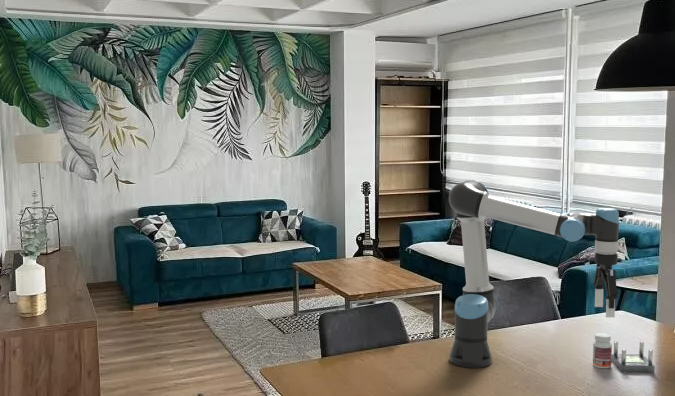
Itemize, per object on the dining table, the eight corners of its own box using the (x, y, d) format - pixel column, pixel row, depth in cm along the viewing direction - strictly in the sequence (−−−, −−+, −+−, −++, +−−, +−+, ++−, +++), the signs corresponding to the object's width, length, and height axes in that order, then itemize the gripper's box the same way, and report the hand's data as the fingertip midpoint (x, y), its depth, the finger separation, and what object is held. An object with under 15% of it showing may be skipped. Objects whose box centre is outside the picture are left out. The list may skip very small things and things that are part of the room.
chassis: (621, 372, 248) (622, 351, 247) (611, 360, 260) (611, 340, 259) (654, 372, 247) (655, 351, 246) (642, 361, 259) (643, 341, 258)
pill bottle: (614, 368, 252) (615, 337, 250) (597, 369, 251) (599, 338, 249) (605, 362, 258) (606, 332, 256) (589, 363, 257) (590, 332, 256)
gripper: (629, 259, 237) (626, 321, 239) (606, 246, 262) (604, 302, 264) (605, 259, 238) (603, 321, 240) (585, 246, 262) (584, 302, 265)
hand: (604, 311), depth 252 cm, fingers open, 13 cm apart
